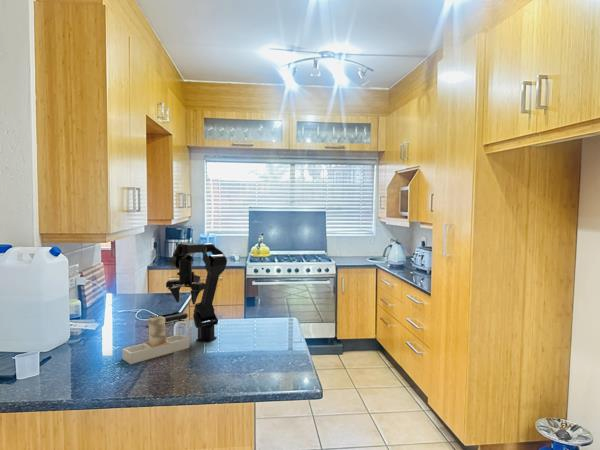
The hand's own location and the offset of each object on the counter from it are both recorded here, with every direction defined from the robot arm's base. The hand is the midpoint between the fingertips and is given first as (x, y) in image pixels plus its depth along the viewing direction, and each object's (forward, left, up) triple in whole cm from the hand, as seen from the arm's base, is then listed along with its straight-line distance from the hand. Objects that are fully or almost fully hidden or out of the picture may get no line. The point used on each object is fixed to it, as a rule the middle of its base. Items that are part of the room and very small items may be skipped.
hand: (185, 303), depth 184 cm
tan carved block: (-8, +27, -12) cm, 31 cm away
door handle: (+22, -10, -14) cm, 28 cm away
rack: (-8, +27, -13) cm, 31 cm away
